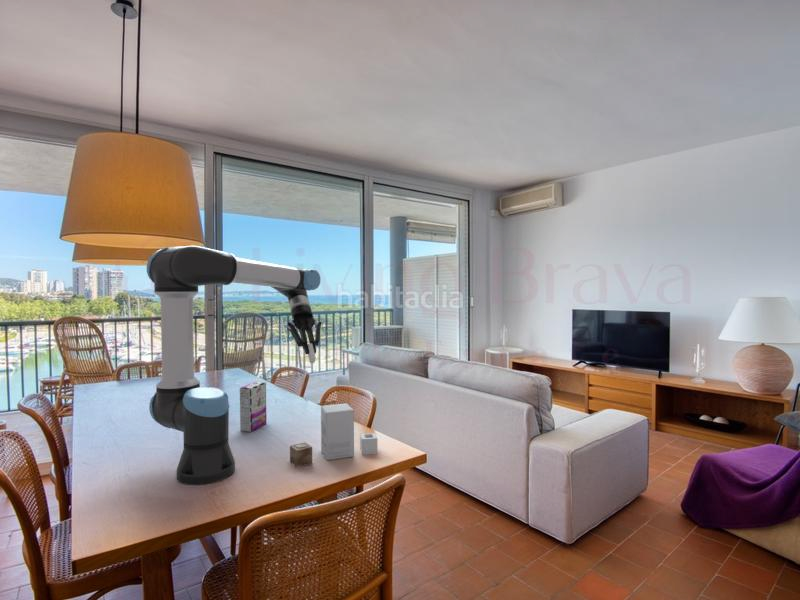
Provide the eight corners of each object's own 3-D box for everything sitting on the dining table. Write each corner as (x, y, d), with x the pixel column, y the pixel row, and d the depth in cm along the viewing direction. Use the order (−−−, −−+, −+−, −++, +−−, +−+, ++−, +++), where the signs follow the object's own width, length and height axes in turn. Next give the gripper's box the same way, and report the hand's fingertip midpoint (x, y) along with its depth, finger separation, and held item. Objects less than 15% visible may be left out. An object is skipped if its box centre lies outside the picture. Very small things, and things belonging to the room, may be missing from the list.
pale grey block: (361, 454, 136) (361, 438, 136) (360, 449, 141) (360, 433, 141) (377, 453, 137) (377, 437, 137) (375, 448, 142) (375, 432, 142)
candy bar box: (255, 422, 168) (255, 381, 168) (266, 423, 167) (266, 381, 167) (239, 431, 157) (239, 387, 157) (251, 432, 156) (251, 388, 156)
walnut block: (296, 467, 126) (296, 449, 126) (289, 461, 130) (289, 445, 130) (312, 463, 129) (312, 446, 129) (305, 458, 133) (305, 441, 133)
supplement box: (347, 447, 142) (347, 402, 142) (354, 456, 134) (354, 409, 134) (320, 450, 139) (320, 405, 139) (325, 460, 131) (326, 412, 130)
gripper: (315, 316, 167) (328, 365, 152) (282, 317, 161) (292, 368, 146) (319, 303, 162) (333, 352, 147) (285, 303, 156) (295, 355, 141)
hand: (312, 360), depth 147 cm, fingers closed
